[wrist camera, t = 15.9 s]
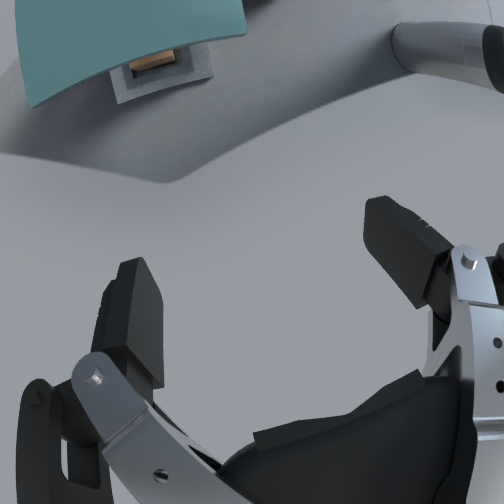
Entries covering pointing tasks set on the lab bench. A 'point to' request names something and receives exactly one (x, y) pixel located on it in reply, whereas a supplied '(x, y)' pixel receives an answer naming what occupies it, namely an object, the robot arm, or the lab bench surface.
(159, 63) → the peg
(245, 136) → the lab bench surface
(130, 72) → the small shelf stand
